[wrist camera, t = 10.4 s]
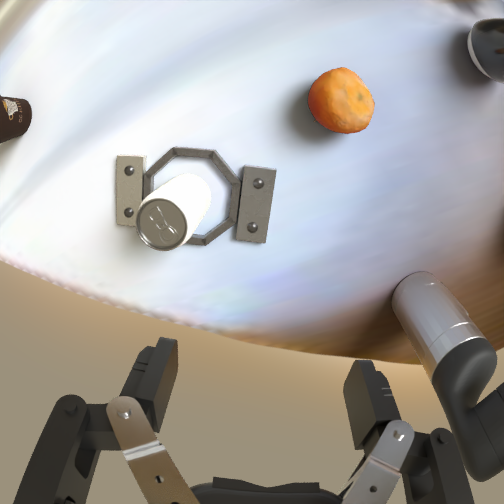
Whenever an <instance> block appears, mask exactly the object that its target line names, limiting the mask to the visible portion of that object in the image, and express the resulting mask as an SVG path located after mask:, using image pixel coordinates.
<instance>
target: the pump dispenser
mask: <svg viewBox="0 0 504 504" xmlns="http://www.w3.org/2000/svg"><path fill="white" fill-rule="evenodd" d="M468 50H469V53H470V56H471V58H472V60H473V62H474V64H475V65H476V66H477V68H478V69H479V70H480V71H481V72H482V73H484V74H485V75H486V76H488V77H490V78H492V79H494V80H495V81H497V82H500V83H504V18H490V19H483V20H480V21H478V22H476V23H475V24H474V26H473V28H472V29H471V31H470V33H469V35H468Z"/></svg>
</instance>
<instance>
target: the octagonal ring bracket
mask: <svg viewBox="0 0 504 504" xmlns="http://www.w3.org/2000/svg"><path fill="white" fill-rule="evenodd" d="M176 155H179V156H192V157H203V158H210V159H211V160H212V161H213V163H214V164H215V165H216V166H217V167H218V169H219V170H220V171H221V172H222V173H223V175H224V176H225V177H226V178H227V180H228V181H229V182H230V183H231V185H232V194H231V203H230V212H229V217H228V218H227V219H226V220H224V221H223V222H222V223H220V224H219V225H218V226H216V227H215V228H214V229H212V230H211V231H210V232H209V233H207V234H206V235H197V234H192V236H191V237H190V238H189V240H188V241H187V242H185V243H189V244H196V245H204V246H206V245H207V244H209V243H210V242H211V241H213V240H214V239H215V238H217V237H218V236H219V235H221V234H222V233H223V232H225V231H226V230H227V229H229V228H230V227H231V226H233V225H234V224H235V223H236V221H237V213H238V205H239V197H240V188H241V181H240V179H239V178H238V177H237V176H236V174H235V173H234V172H233V171H232V170H231V168H230V167H229V166H228V165H227V163H226V162H225V161H224V160H223V159H222V157H221V156H220V155H219V154H218V152H217V151H216V150H211V149H200V148H188V147H173V148H172V149H171V150H169V151H168V152H167V153H166V154H165V155H164V156H163V157H162V158H161V159H160V160H158V161H157V162H156V163H155V164H154V165H153V166H152V167H151V168H150V169H149V170H148V171H147V172H146V157H147V156H142V155H118V156H117V179H116V206H117V224H118V225H126V226H134V227H136V225H135V219H136V214H137V212H138V210H139V207H140V205H141V203H142V201H143V200H144V199H145V198H146V197H147V196H148V195H149V194H151V193H152V192H153V185H154V175H155V174H156V173H157V172H159V171H160V170H161V169H162V168H163V167H164V166H165V165H166V164H167V163H168V162H170V161H171V160H172V159H173V158H174V157H175V156H176ZM275 177H276V169H274V168H266V167H259V166H251V165H245V168H244V176H243V184H242V192H241V200H240V209H239V217H238V226H237V234H236V240H244V241H251V242H259V243H266V236H267V230H268V223H269V217H270V210H271V203H272V197H273V190H274V184H275Z"/></svg>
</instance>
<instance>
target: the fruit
mask: <svg viewBox="0 0 504 504" xmlns="http://www.w3.org/2000/svg"><path fill="white" fill-rule="evenodd" d="M308 105H309V109H310V111H311V113H312V114H313V116H314V117H315V119H316V120H315V121H313V122H316V121H318V122H319V123H320V124H321V125H323V126H324V127H326V128H327V129H329V130H332V131H334V132H339V133H345V134H349V133H356V132H360V131H361V130H363V129H365V128H366V127H367V126H368V125H369V122H370V120H371V118H372V114H373V111H374V105H375V104H374V101H373V99H372V95H371V93H370V91H369V90H368V88H367V87H366V85H365V84H364V83H363V81H362V80H361V79H360V77H359V76H358V75H357V74H356V73H355V72H353V71H351V70H349V69H347V68H344V67H340V68H337V69H332V70H330V71H328V72H325V73H323V74H322V75H321V76H320V77H319V78H318V79H317V80H316V81H315V82H314V83H313V84H312V87H311V89H310V92H309V95H308Z"/></svg>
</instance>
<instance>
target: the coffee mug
mask: <svg viewBox="0 0 504 504" xmlns="http://www.w3.org/2000/svg"><path fill="white" fill-rule="evenodd" d="M31 119H32V110H31V106H30V104H29V102H28V101H27V100H25V99H19V98H11V97H2V96H0V143H2V142H5V141H7V140H10V139H13V138H15V137H18V136H20V135H23V134H24V133H25V132H26V131H27V130H28V128H29V126H30V123H31Z"/></svg>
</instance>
